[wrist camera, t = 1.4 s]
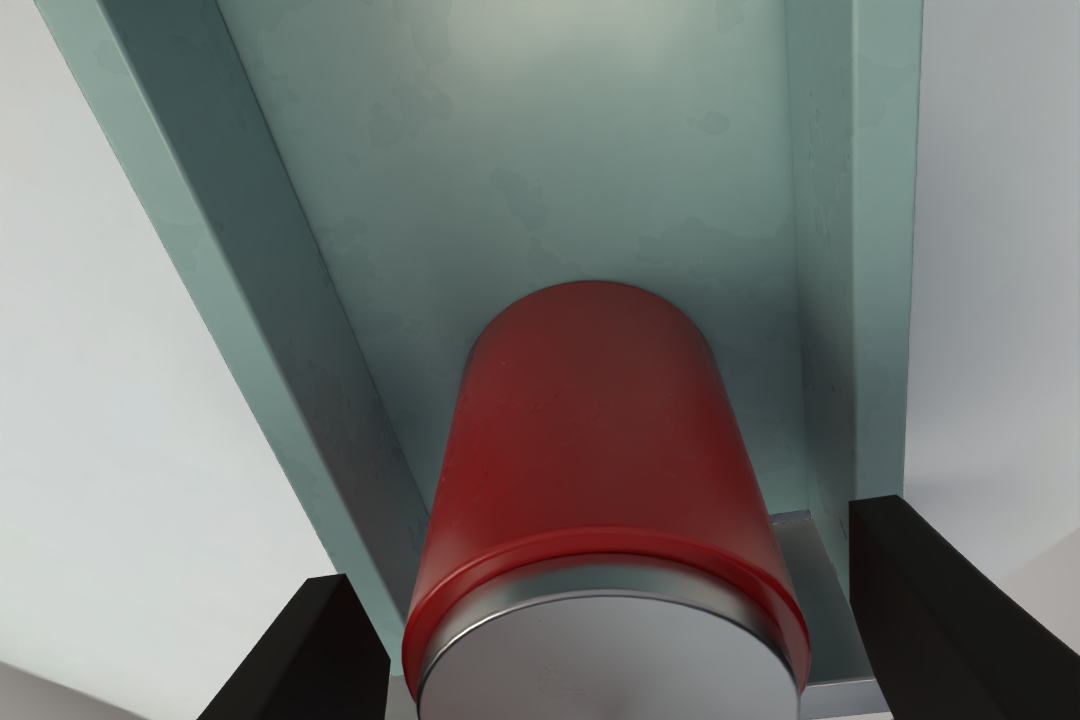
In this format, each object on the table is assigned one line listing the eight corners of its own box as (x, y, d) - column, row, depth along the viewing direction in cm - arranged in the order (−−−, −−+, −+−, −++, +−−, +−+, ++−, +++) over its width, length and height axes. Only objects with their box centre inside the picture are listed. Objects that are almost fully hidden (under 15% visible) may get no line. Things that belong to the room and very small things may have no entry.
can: (773, 364, 14) (928, 690, 8) (619, 525, 16) (651, 870, 10) (550, 228, 13) (536, 496, 7) (417, 425, 15) (321, 753, 9)
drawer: (863, 643, 20) (932, 809, 16) (465, 689, 22) (444, 850, 18) (868, -419, 9) (1075, -651, 6) (74, -169, 11) (-184, -215, 7)
